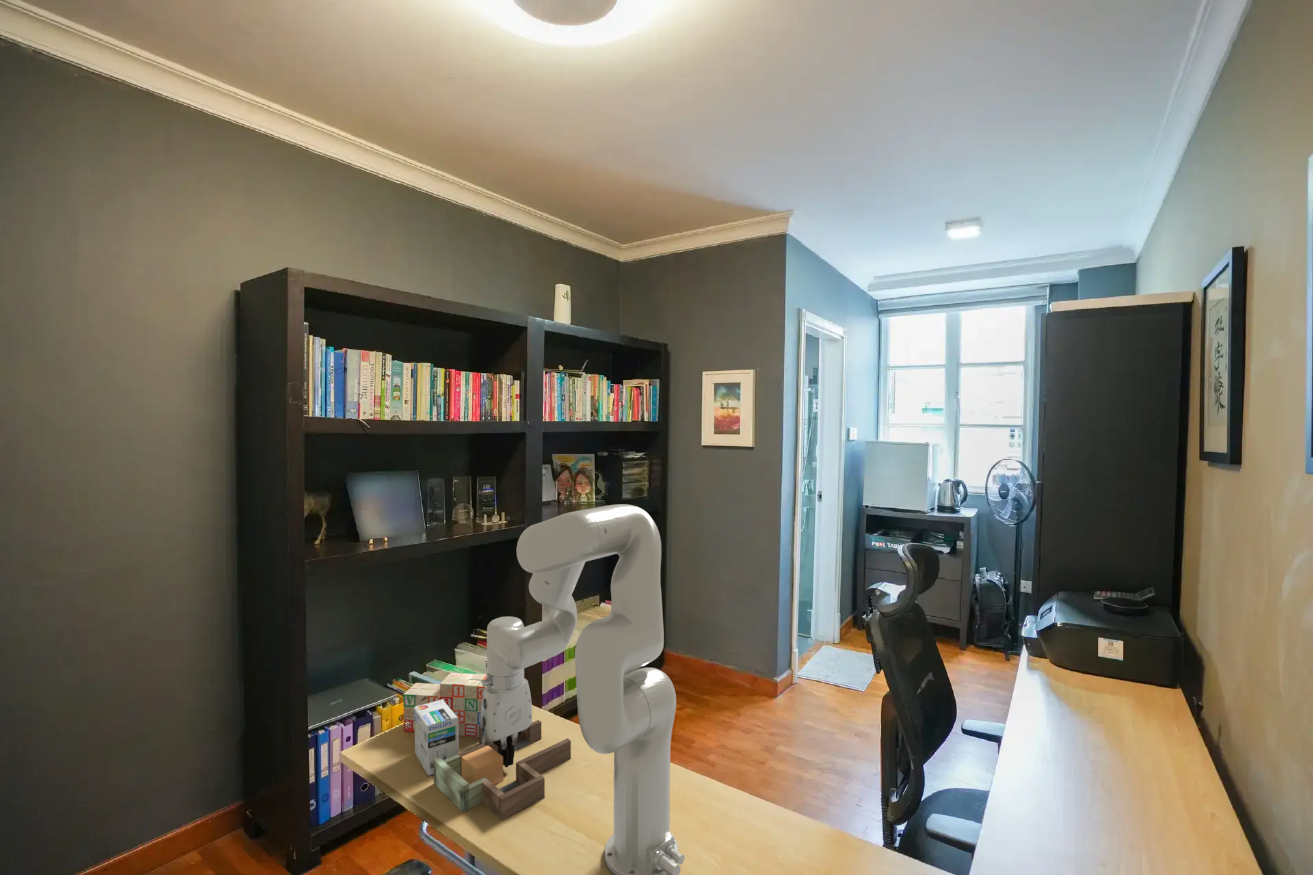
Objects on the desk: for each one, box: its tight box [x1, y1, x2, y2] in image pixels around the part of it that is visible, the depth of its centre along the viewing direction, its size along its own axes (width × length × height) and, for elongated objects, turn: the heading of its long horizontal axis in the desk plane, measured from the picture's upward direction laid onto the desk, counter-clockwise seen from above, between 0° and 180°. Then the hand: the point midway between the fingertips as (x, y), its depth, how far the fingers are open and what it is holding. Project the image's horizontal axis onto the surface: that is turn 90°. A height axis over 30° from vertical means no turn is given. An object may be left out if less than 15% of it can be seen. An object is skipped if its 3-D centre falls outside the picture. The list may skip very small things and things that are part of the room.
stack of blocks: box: [402, 672, 487, 738], centre depth 143 cm, size 21×6×12 cm, turn 84°
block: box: [461, 746, 504, 786], centre depth 123 cm, size 6×6×5 cm
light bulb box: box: [414, 699, 460, 776], centre depth 130 cm, size 11×7×11 cm, turn 37°
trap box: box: [433, 719, 572, 821], centre depth 126 cm, size 27×25×5 cm
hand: (506, 763), depth 127 cm, fingers closed
